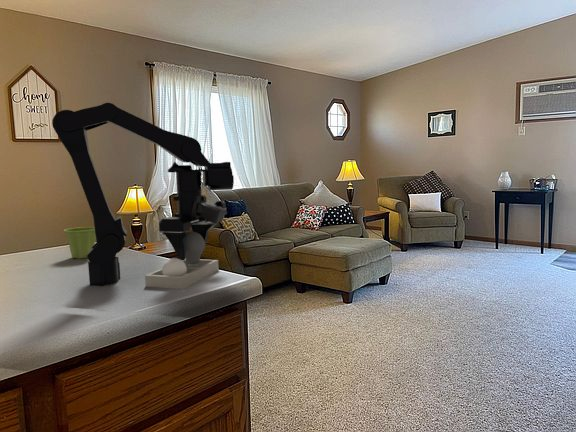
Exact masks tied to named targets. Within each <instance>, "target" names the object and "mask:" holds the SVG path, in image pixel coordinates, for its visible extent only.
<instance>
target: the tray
mask: <svg viewBox="0 0 576 432" xmlns="http://www.w3.org/2000/svg"><path fill="white" fill-rule="evenodd" d="M182 261H183V262H184V263H185V264H186V267H187V273H186V274H185V275H183V276H164V275H163V274H162V268H160V269H158V270H155V271H152V272H149V273H147V274H145V275H144V280H145V281H144V283H145V287H146V288H148V287H149V288H150V287H151V288H161V289H163V288H164V289H165V288H166V289H177V290H184V289H186V288H187V287H189V286H191V285H193V284H195V283H197V282H199V281H200V280H202V279H204V278H206V277H208V276H210V275H211V274H213V273H216V272H217V271H219V268H220V267H219V259H202V258H200V261H199V265H198V266H199V267H198V268H197V267H188V264H187V262H186V258H185V260H182Z"/></svg>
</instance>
